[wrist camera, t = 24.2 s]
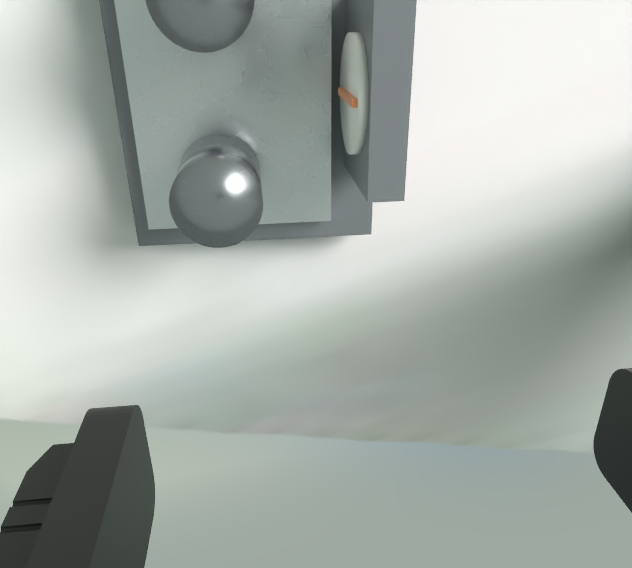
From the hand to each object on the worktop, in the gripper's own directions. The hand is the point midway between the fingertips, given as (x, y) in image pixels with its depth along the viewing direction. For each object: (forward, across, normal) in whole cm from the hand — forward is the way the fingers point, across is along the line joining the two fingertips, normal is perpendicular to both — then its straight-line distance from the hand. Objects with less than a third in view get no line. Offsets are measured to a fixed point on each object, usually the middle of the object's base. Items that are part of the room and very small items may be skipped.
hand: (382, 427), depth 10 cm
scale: (+32, +2, -2) cm, 32 cm away
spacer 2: (+28, +4, +3) cm, 29 cm away
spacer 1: (+28, +4, -7) cm, 29 cm away
